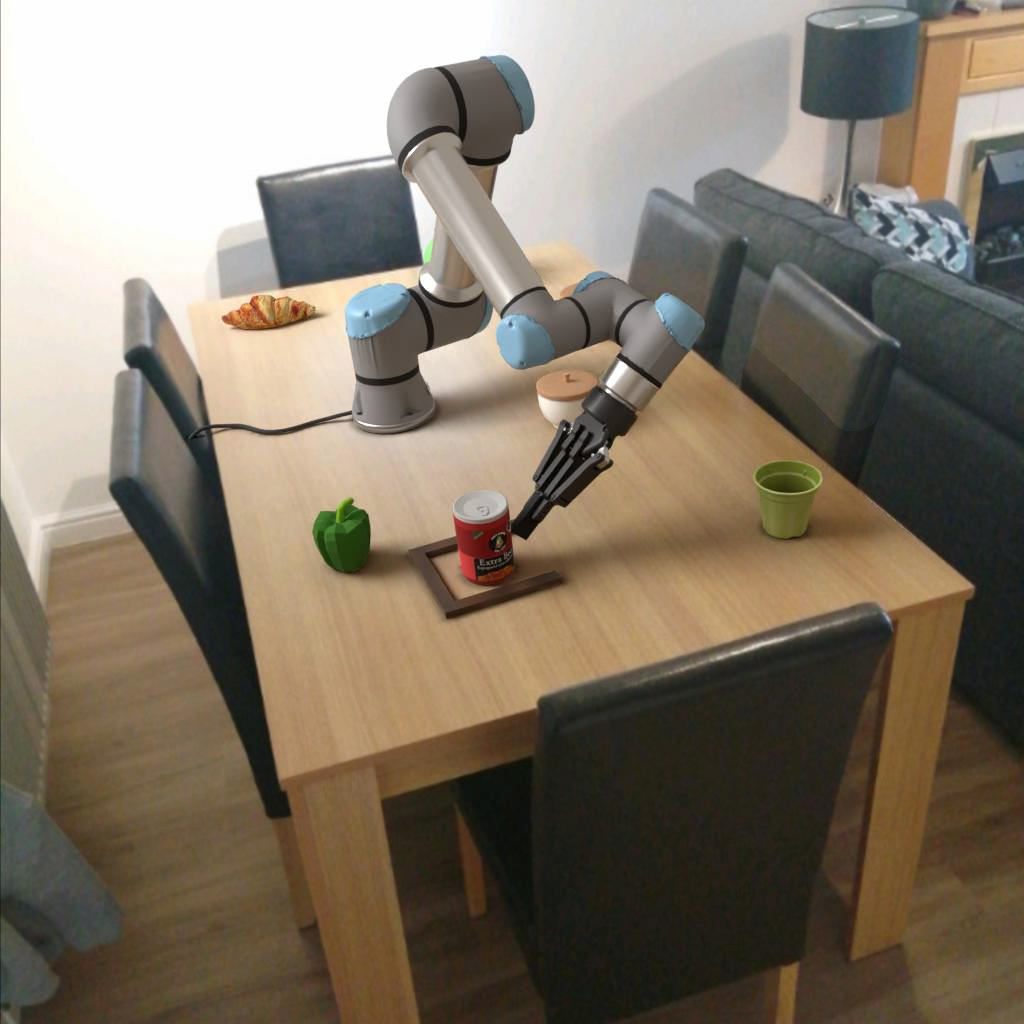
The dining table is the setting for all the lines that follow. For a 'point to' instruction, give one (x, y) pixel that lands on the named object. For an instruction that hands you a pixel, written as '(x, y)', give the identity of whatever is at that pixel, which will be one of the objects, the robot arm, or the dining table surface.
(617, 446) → the dining table surface
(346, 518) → the bell pepper
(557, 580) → the walnut frame
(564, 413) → the trinket box
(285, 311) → the croissant
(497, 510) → the canned food
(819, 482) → the plant pot
